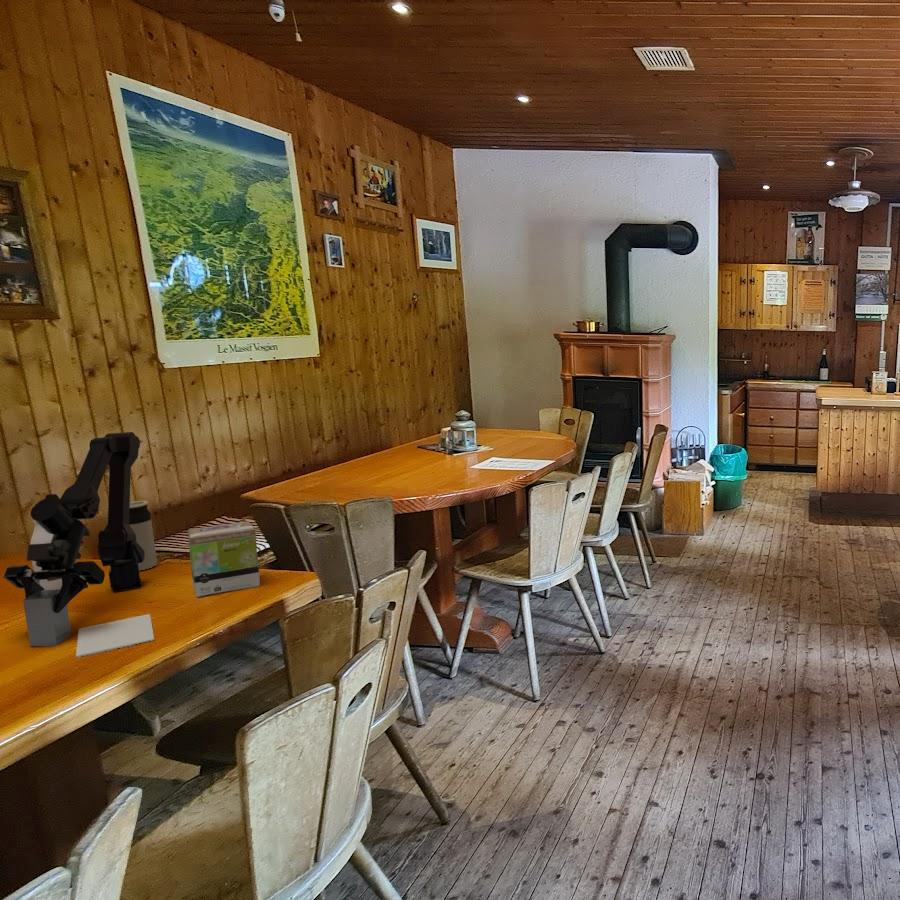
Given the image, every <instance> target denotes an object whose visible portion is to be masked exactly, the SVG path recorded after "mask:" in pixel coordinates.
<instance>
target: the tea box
mask: <svg viewBox="0 0 900 900" xmlns="http://www.w3.org/2000/svg"><path fill="white" fill-rule="evenodd" d="M187 541H188V548H189V560H190V569H191V577H192V585H193V589H194V591H195V596H196V598H200V597H204V596H207V595H214V594H218V593H219V594H220V593H225V592H232V591H238V590H243V589H245V590H246V589H250V588H259V587H260V586H261V582H260V581H261V580H260V579H261V578H260V567H259V557H258V547H257V537H256V529H255V527H254V526H253V525H252V523H251V522H250V520H247V521H241V522H240V521H239V522H233V523H226V524H219V525H218V524H217V525H213V526H212V525H211V526H206V527H205V526H203V527H197V528H191V529H190V528H189V529H187Z"/></svg>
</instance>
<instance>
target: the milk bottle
mask: <svg viewBox="0 0 900 900" xmlns="http://www.w3.org/2000/svg"><path fill="white" fill-rule="evenodd" d="M32 523H34V526H33V533H32V536H31V539H30V544H46V543H51V540H52V537H53V535H54V534H50V533H48V532H47V531H45V530H44V529H43V528H42V527H41V526H40V525H39V524H38V523H37V522H36V521H35V520H34V519H33V518H32ZM30 544H29V545H30ZM31 562H32V563H31V564H32V570H34V571H39V570H41V569H42V568H41V567H38V566H37V565H35V564H36V561H32V560H31ZM39 585H41V586H42V587H43V588H44V590H58V589H61V587H62V579H45V580H40V584H39Z"/></svg>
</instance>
